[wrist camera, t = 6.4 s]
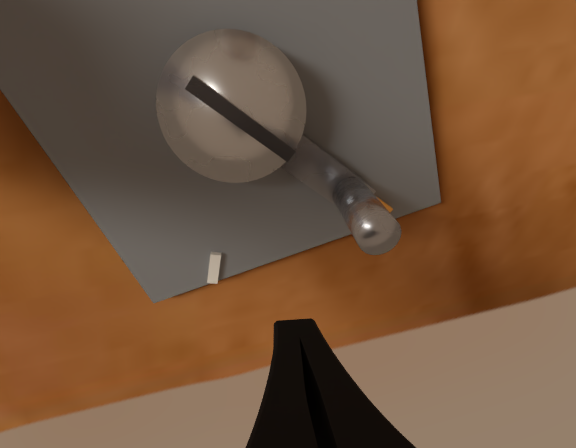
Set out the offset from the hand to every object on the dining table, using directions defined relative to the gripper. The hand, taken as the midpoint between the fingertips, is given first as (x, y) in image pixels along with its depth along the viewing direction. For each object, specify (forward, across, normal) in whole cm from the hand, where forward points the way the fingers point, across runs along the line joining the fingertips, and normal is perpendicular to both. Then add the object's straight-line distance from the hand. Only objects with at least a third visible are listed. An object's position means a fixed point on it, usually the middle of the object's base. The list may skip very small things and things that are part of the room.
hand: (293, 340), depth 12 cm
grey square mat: (+9, +2, -7) cm, 12 cm away
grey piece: (+8, 0, -5) cm, 10 cm away
